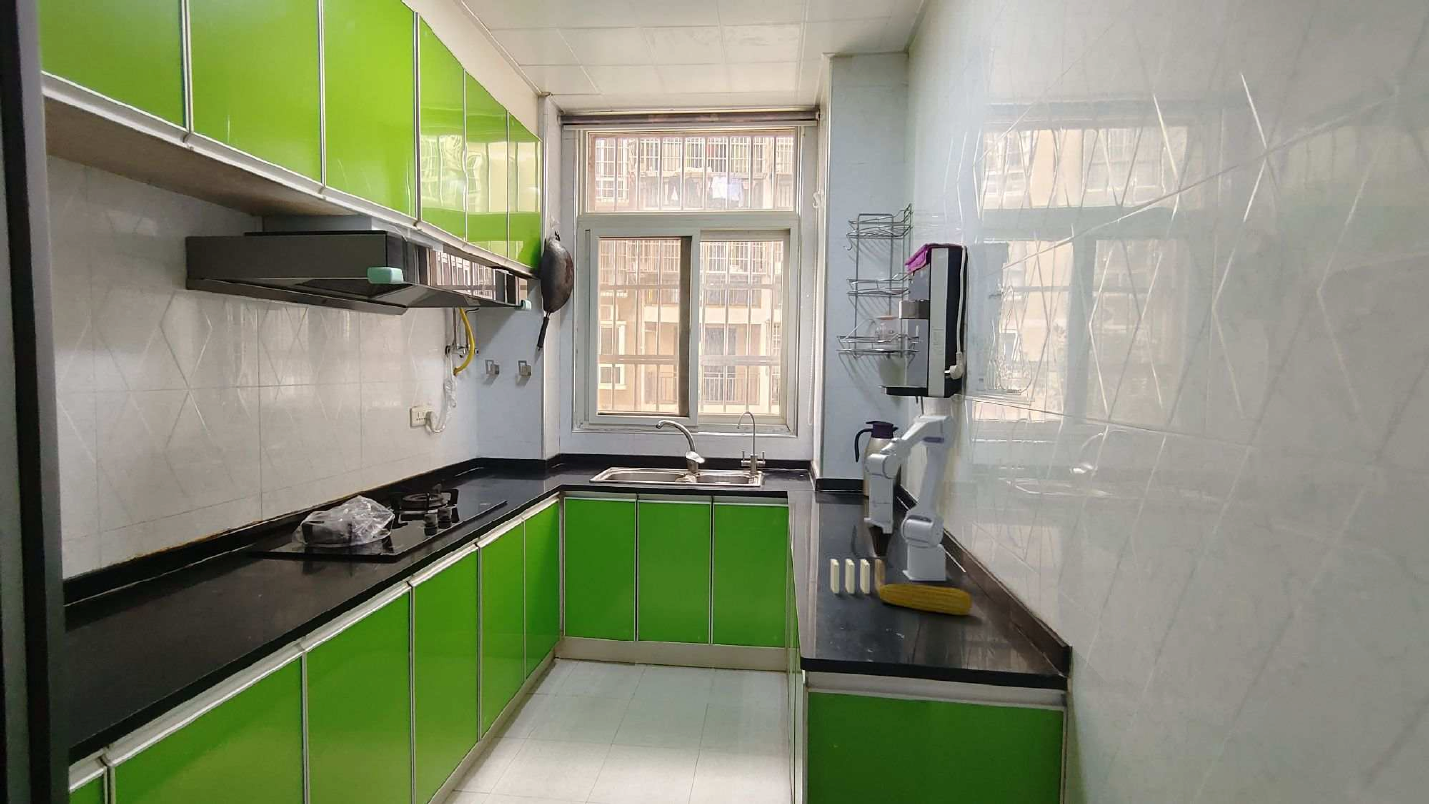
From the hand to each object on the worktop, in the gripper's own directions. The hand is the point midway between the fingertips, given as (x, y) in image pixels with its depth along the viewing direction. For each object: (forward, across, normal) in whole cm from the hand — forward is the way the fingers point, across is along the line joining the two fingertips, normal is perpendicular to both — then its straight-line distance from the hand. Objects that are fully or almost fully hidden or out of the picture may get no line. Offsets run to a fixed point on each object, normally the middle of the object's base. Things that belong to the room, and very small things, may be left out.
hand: (880, 555), depth 168 cm
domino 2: (+9, 0, -8) cm, 12 cm away
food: (+9, +14, +7) cm, 18 cm away
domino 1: (+9, 0, -11) cm, 14 cm away
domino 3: (+9, 0, -4) cm, 10 cm away
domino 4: (+9, 0, 0) cm, 9 cm away
